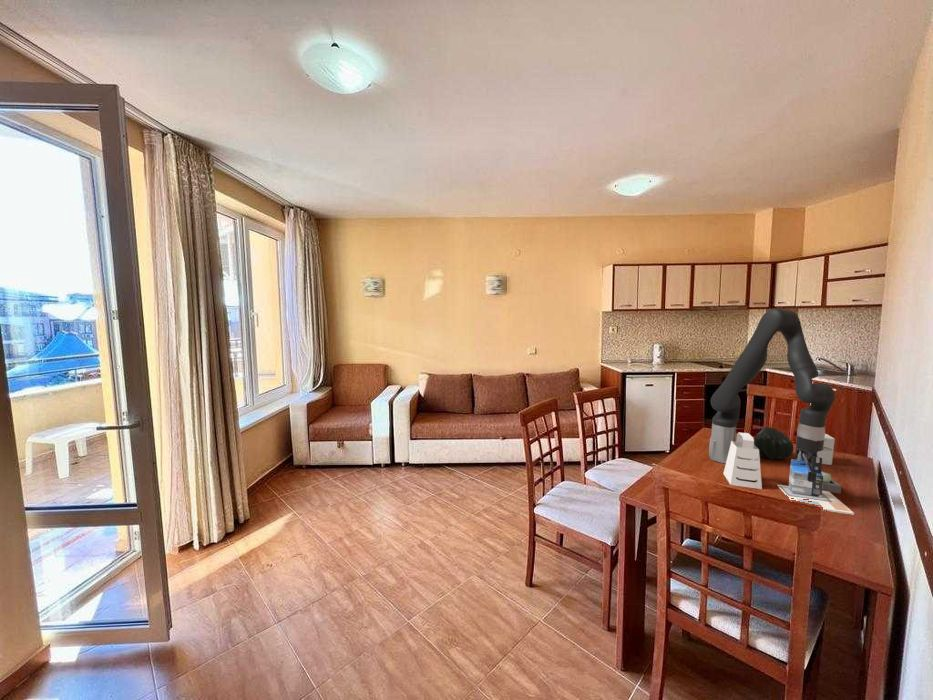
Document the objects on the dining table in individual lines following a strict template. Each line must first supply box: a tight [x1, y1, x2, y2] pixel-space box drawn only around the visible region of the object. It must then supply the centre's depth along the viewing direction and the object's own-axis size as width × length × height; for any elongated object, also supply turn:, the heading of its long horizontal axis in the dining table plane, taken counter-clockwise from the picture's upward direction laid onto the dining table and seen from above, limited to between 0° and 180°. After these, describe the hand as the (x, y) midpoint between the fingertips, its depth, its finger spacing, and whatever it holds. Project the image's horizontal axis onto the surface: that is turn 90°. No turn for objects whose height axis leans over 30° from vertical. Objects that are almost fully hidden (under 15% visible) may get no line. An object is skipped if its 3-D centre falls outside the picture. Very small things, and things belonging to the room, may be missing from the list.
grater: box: [723, 432, 763, 490], centre depth 150 cm, size 10×10×20 cm
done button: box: [821, 471, 832, 483], centre depth 145 cm, size 4×4×4 cm
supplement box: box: [817, 433, 836, 466], centre depth 168 cm, size 7×7×13 cm
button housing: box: [822, 477, 842, 494], centre depth 145 cm, size 8×8×3 cm
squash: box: [753, 426, 794, 460], centre depth 174 cm, size 14×15×15 cm
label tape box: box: [788, 459, 823, 497], centre depth 139 cm, size 9×4×12 cm, turn 65°
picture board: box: [777, 484, 855, 516], centre depth 136 cm, size 16×16×1 cm
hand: (805, 476), depth 138 cm, fingers open, 8 cm apart
